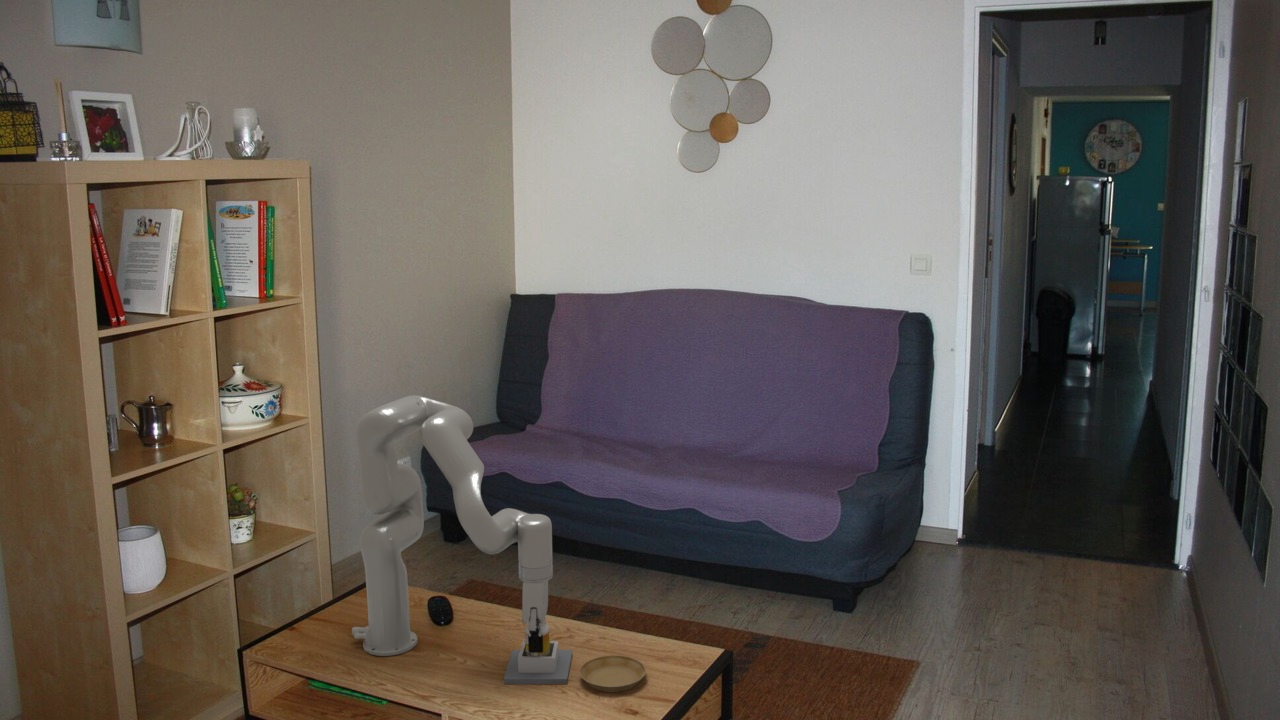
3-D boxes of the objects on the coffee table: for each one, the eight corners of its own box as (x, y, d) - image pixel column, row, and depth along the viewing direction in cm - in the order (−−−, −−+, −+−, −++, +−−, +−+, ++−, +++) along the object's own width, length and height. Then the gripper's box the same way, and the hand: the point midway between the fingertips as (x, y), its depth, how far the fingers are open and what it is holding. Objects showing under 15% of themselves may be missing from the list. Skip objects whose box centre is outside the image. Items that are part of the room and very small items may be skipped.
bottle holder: (503, 684, 227) (503, 664, 226) (512, 654, 240) (512, 635, 240) (567, 684, 226) (566, 664, 226) (572, 654, 240) (571, 635, 239)
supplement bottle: (551, 652, 235) (550, 612, 234) (547, 663, 230) (546, 622, 228) (528, 651, 236) (527, 611, 234) (523, 662, 231) (522, 621, 229)
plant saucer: (582, 664, 236) (582, 654, 235) (646, 665, 235) (646, 654, 235) (576, 697, 221) (576, 686, 221) (645, 698, 221) (645, 686, 220)
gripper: (523, 555, 238) (525, 628, 241) (513, 585, 221) (515, 663, 224) (556, 555, 237) (557, 629, 241) (548, 585, 221) (550, 663, 224)
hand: (537, 644), depth 232 cm, fingers closed on supplement bottle, 5 cm apart
